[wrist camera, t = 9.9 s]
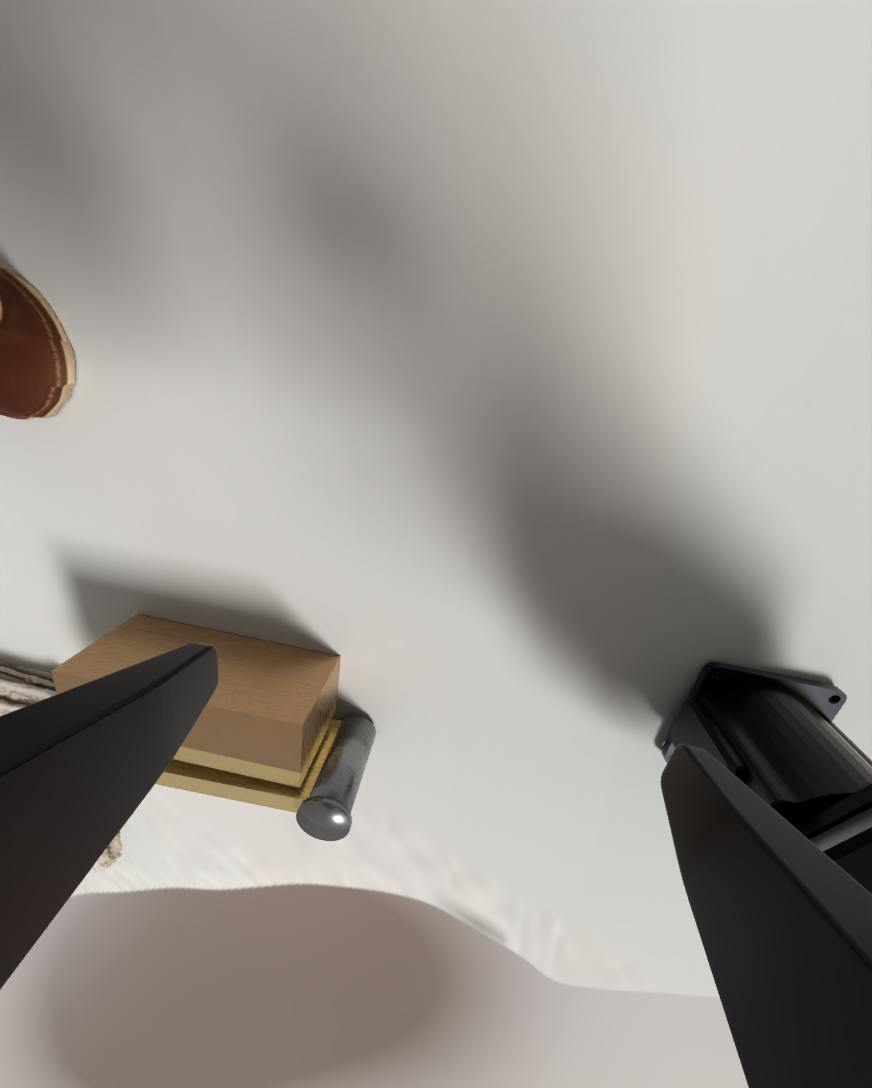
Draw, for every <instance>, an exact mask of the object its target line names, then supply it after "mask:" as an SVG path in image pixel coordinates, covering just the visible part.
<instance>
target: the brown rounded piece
mask: <svg viewBox="0 0 872 1088" xmlns="http://www.w3.org/2000/svg"><path fill="white" fill-rule="evenodd" d="M75 372H76V362H75V357H74V353H73V349H72V346H71V344H70V342H69V340H68V338H67V336H66V334H65V332H64V330H63V327H62V325H61V324H60V322H59V320H58V319H57V317H56V315H55V314H54V312H53V310H52V308H51V307H50V305H49V304H48V303H47V302H46V300H45V299H44V297H43V296H42V295H41V294H40V292H39V291H38V290H37V289H36V288H35V287H33V286H32V285H31V284H29V283H27V282H26V281H24V280H23V279H22V278H20V277H18V276H17V275H15V274H13V273H12V272H9V271H7V270H5V269H2V268H0V415H4V416H7V417H11V418H16V419H25V420H29V419H33V418H36V417H42V418H49V417H52V416H54V415H56V414H57V413H58V412H59V410H60V409H61V407H62V405H63V404H64V403H65V402H66V401H67V400H69V398H70V397H71V390H72V388H71V387H73V386H74V384H75V382H76V376H75Z"/></svg>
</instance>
